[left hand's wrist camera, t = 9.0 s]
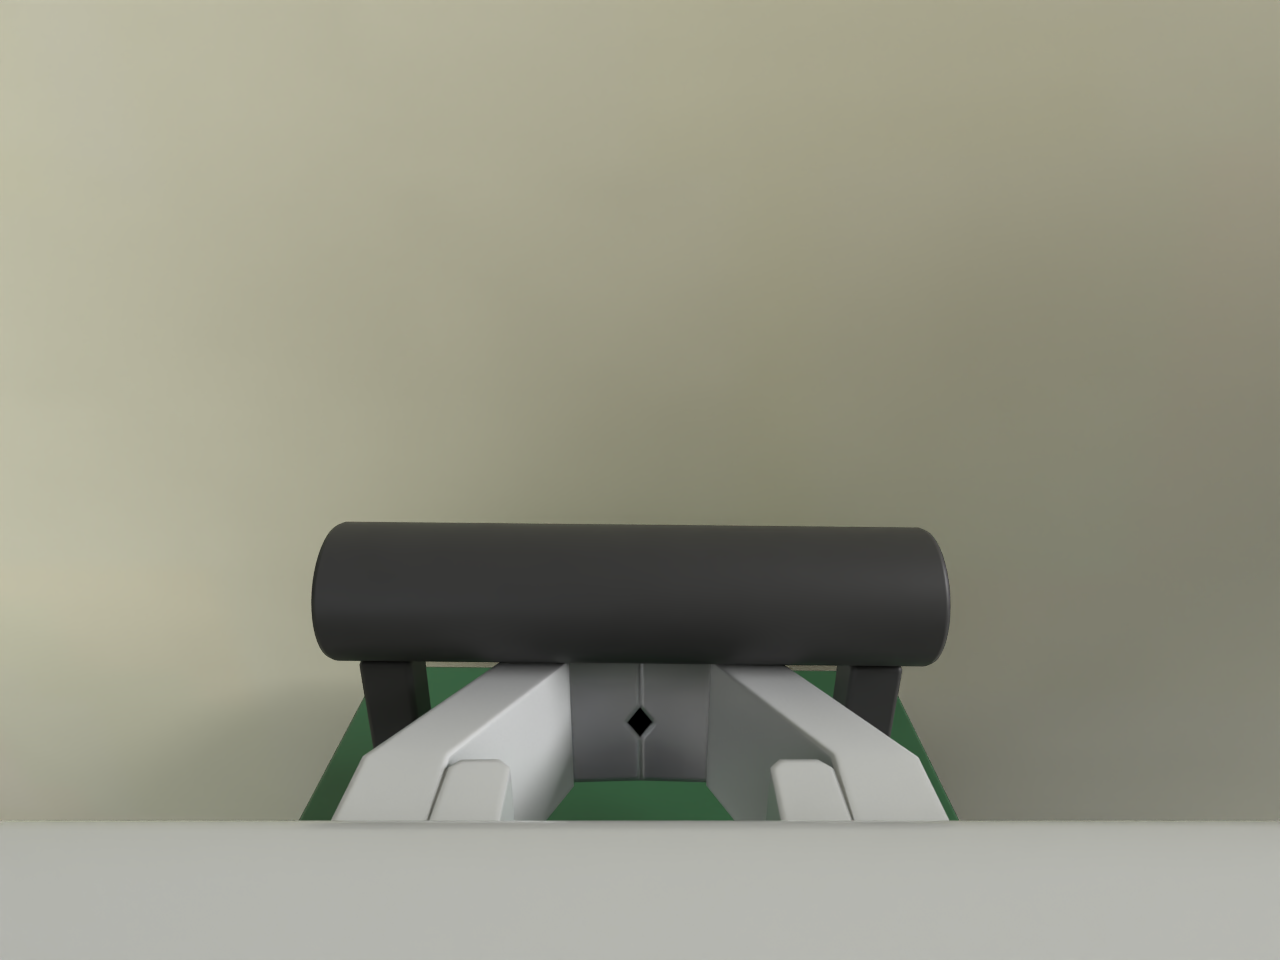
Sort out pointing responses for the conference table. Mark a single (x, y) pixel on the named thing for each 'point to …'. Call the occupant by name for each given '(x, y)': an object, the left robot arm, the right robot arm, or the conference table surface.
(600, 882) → the left robot arm
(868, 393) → the conference table surface
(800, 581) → the drawer
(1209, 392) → the conference table surface
